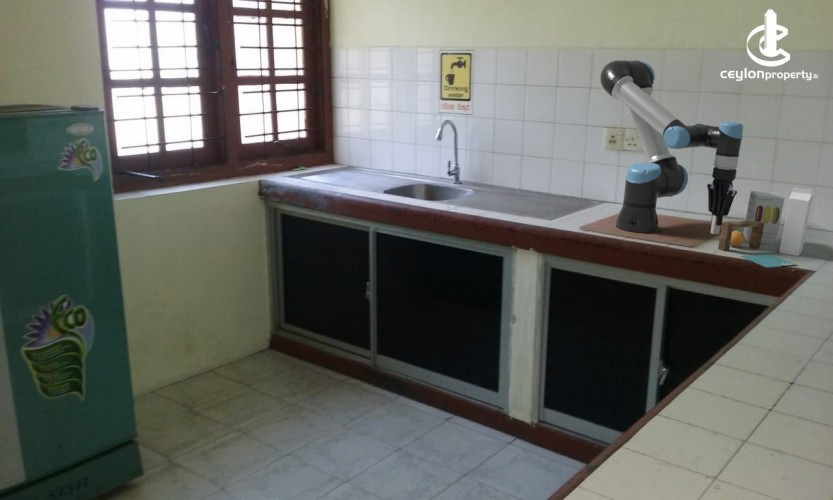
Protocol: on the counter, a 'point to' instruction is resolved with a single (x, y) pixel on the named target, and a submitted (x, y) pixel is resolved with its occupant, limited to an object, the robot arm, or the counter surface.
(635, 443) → the counter surface
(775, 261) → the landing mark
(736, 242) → the ball
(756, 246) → the bridge
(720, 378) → the counter surface
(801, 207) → the milk
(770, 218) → the supplement box
